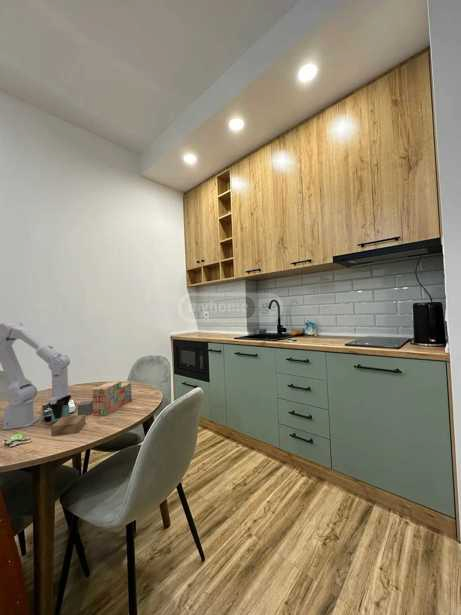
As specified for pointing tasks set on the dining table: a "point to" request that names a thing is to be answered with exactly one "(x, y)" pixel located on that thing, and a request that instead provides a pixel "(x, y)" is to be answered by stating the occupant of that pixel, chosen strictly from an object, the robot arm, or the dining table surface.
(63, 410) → the teal cube
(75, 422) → the walnut block
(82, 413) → the charcoal cube
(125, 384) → the stack of blocks
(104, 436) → the dining table surface
